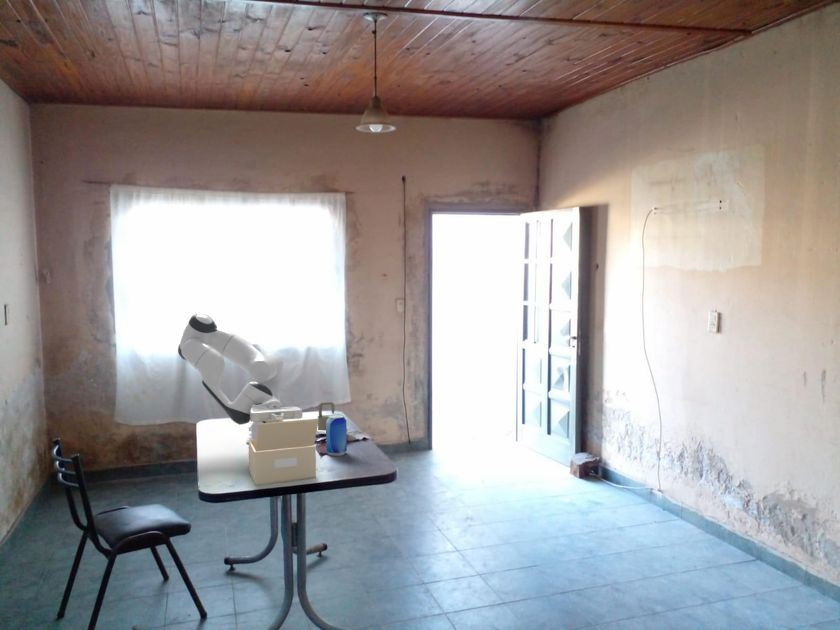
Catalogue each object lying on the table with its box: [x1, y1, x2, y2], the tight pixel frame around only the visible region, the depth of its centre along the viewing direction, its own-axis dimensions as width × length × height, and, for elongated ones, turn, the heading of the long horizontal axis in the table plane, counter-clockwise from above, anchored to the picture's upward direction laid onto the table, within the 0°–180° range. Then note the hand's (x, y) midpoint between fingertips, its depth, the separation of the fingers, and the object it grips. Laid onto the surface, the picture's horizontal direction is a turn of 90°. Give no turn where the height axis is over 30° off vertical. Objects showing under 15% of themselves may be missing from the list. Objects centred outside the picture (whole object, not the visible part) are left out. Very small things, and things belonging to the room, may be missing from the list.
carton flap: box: [256, 418, 319, 451], centre depth 237 cm, size 14×21×1 cm
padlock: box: [317, 401, 336, 431], centre depth 312 cm, size 4×8×15 cm, turn 103°
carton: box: [248, 439, 317, 486], centre depth 250 cm, size 18×22×12 cm
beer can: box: [325, 413, 348, 457], centre depth 278 cm, size 8×8×16 cm
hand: (279, 418), depth 255 cm, fingers closed
